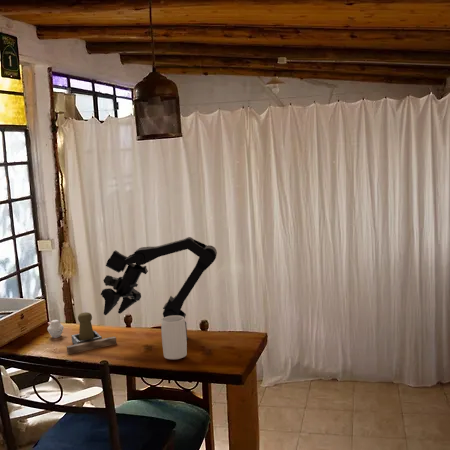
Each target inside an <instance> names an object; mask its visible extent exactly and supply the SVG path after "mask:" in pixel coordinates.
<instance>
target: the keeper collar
mask: <svg viewBox="0 0 450 450" xmlns="http://www.w3.org/2000/svg"><path fill="white" fill-rule="evenodd" d="M93 333H94V338H91V339H86V340H81V341H79V333H77V334H72V335H71V342H72V345H75V344H80V343H85V342H90V341H94V340H99V339H103V337H102V335H100V334H99V332H97V331H96V330H93Z"/></svg>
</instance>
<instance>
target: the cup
mask: <svg viewBox="0 0 450 450" xmlns="http://www.w3.org/2000/svg"><path fill="white" fill-rule="evenodd" d="M185 321H186V317H185V318H184V317H183V316H179V315H172V316H167V317H162V318H161V325H160V326H161V327H160V328H161V329H160V330H161V344H162V345H161V346H162V352H163V358H165V359H167V360H180V359H182V358H186V356H187V355H188V353H187V350H188V347H187V346H188V345H187V344H188V343H187V341H188V340H187V338H186V327H187V324H186V325H185Z"/></svg>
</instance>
